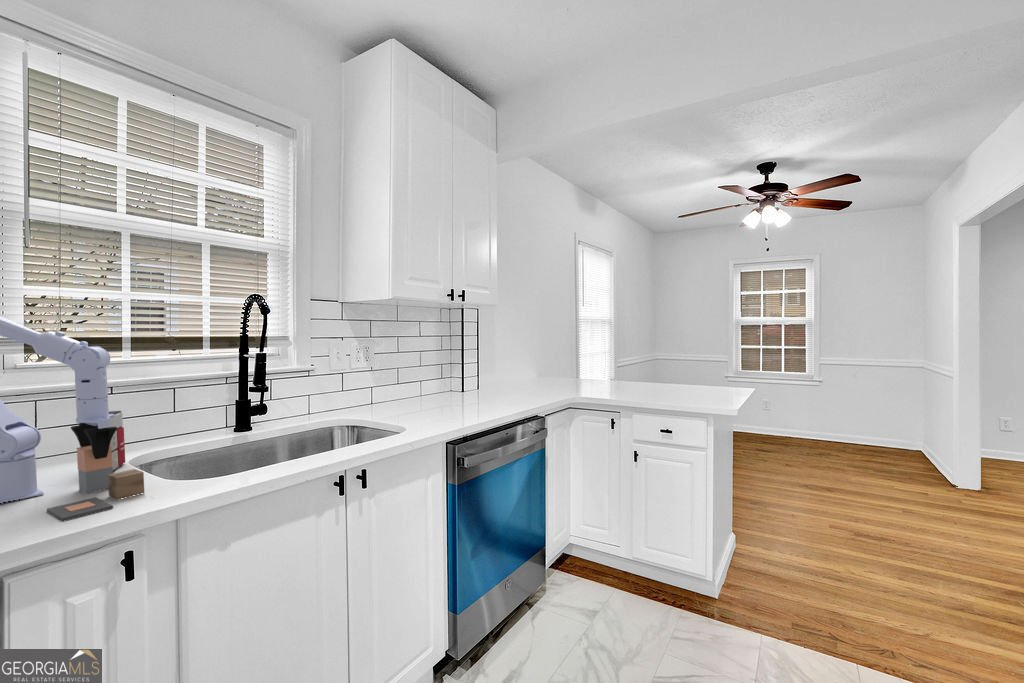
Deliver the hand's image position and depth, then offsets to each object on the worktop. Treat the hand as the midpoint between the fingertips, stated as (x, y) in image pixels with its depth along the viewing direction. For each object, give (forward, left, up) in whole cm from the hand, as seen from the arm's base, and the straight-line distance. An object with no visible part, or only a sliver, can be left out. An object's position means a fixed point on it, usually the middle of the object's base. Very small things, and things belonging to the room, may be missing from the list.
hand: (94, 456), depth 117 cm
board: (+15, -7, -8) cm, 18 cm away
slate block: (0, 0, -8) cm, 8 cm away
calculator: (-18, +8, -8) cm, 21 cm away
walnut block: (+12, +2, -8) cm, 14 cm away
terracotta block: (0, 0, -3) cm, 3 cm away
